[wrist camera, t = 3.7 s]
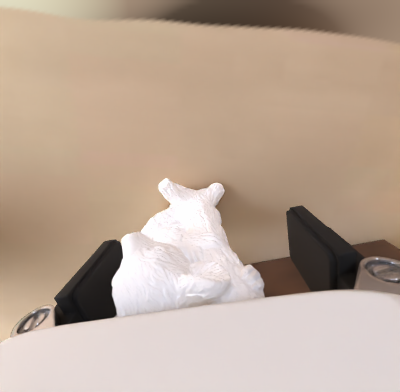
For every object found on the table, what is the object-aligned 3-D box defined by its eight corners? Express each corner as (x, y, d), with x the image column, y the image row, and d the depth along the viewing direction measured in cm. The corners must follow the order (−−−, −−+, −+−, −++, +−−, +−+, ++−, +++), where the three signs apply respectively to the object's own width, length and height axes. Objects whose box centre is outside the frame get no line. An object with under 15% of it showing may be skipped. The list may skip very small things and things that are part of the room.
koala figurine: (230, 157, 15) (397, 285, 4) (239, 230, 18) (351, 420, 7) (120, 182, 14) (-30, 400, 4) (147, 252, 17) (108, 494, 6)
